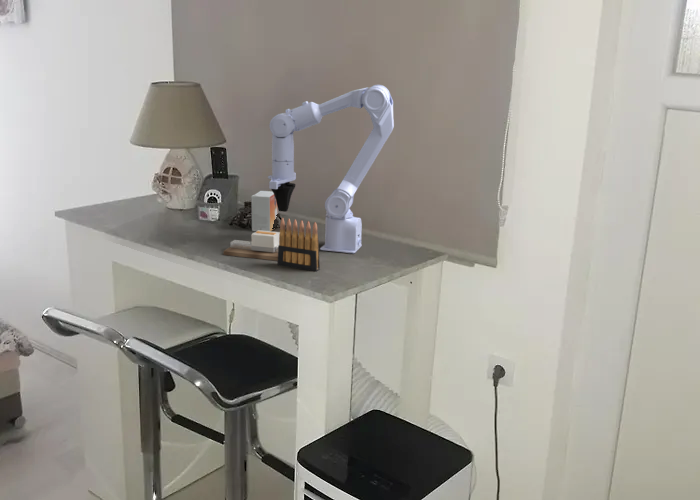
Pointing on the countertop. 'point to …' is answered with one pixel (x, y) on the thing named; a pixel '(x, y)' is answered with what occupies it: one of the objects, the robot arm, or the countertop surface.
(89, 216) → the countertop surface
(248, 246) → the rail
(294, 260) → the ammunition clip
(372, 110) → the robot arm
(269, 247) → the block
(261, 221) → the small box
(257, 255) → the board
